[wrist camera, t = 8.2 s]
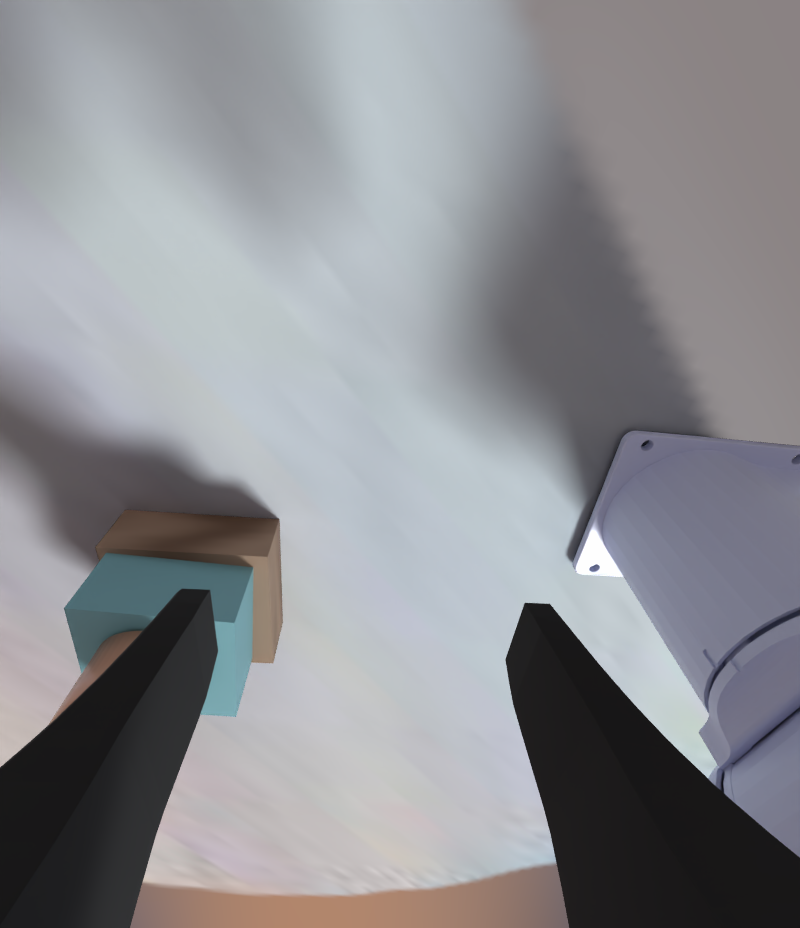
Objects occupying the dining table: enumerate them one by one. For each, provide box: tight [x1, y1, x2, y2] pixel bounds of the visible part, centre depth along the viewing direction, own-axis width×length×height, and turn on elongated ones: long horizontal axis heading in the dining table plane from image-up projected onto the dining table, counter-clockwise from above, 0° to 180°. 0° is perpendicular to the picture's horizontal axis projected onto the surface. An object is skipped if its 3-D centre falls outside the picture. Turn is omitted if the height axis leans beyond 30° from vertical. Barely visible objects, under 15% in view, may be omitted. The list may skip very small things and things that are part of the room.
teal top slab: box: [64, 553, 253, 717], centre depth 20 cm, size 6×6×3 cm
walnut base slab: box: [95, 510, 283, 663], centre depth 23 cm, size 7×7×3 cm
